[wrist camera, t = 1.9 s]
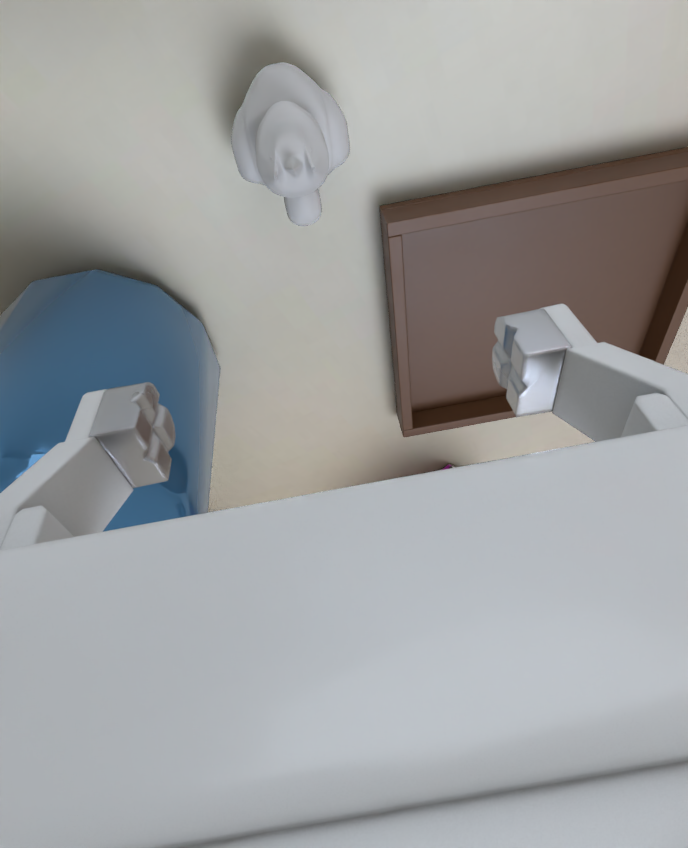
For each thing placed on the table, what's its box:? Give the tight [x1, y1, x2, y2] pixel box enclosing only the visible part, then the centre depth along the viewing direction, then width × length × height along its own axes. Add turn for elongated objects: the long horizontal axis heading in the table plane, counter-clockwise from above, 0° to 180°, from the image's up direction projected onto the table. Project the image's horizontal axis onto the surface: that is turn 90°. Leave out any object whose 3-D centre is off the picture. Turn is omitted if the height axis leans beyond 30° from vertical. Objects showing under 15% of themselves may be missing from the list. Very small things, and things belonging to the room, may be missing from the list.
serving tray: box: [379, 147, 688, 437], centre depth 33 cm, size 17×20×2 cm
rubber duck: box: [231, 62, 350, 226], centre depth 22 cm, size 5×7×8 cm
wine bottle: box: [0, 269, 220, 532], centre depth 23 cm, size 14×13×30 cm
